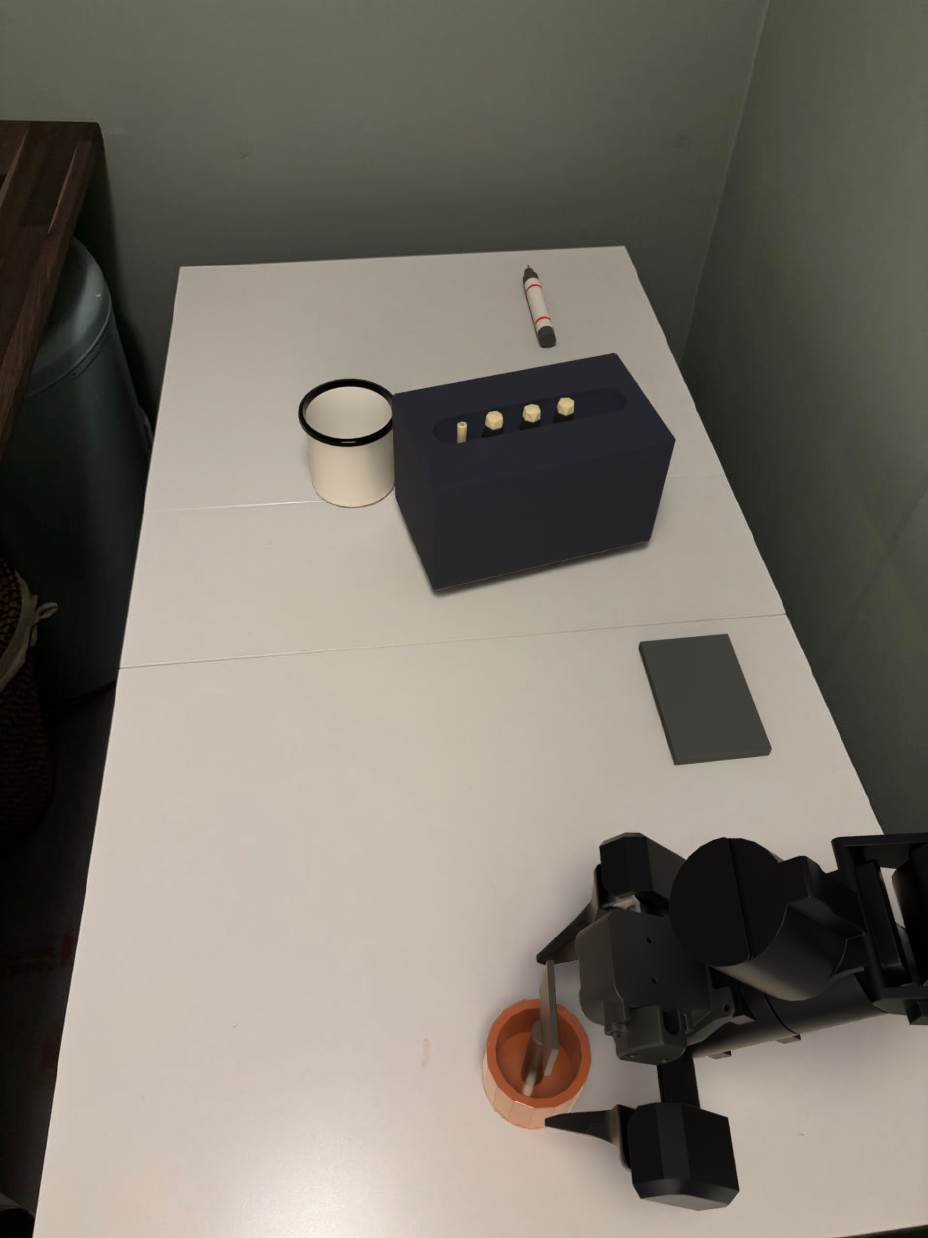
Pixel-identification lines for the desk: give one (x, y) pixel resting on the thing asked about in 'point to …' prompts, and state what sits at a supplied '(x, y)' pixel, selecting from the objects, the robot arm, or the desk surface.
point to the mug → (349, 440)
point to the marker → (539, 308)
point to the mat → (703, 699)
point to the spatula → (543, 1033)
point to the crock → (507, 1058)
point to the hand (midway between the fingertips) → (544, 1038)
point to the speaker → (527, 468)
